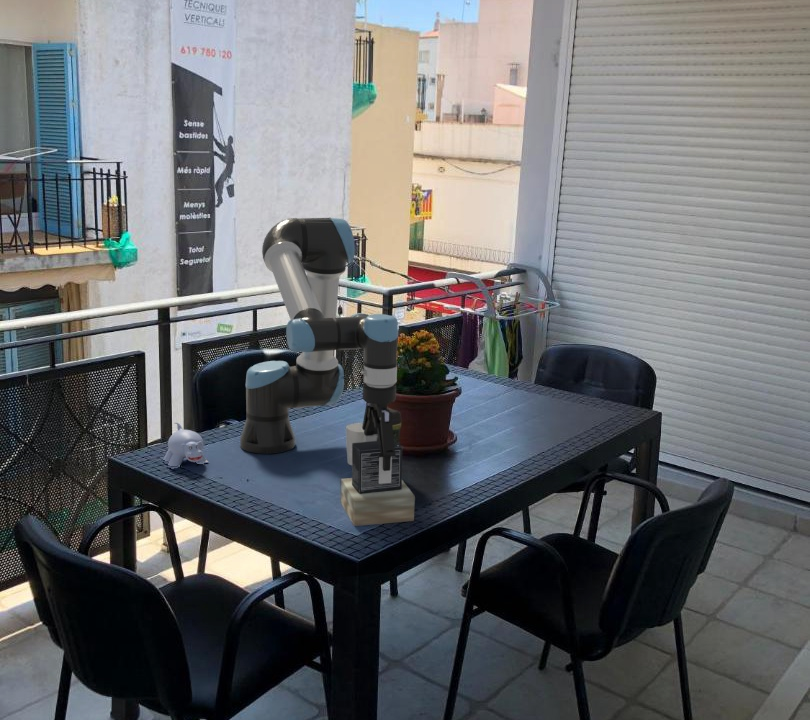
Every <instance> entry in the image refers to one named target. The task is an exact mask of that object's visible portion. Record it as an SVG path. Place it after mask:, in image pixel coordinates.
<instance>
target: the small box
mask: <svg viewBox="0 0 810 720" xmlns="http://www.w3.org/2000/svg"><path fill="white" fill-rule="evenodd" d="M394 447H395V456H392V471H391V483H384V484H379V457H378V454H380V453H381V452H380V445H379V441H370V442H359V443H352V466H351V469H352V470H351V478H352V485H353V487H354V488H355V489H356V491H357V492H358V493H359V494H362V493H371V492H380V491H390V490H399V489H402V480H403V448H404V447H403V446H402V445H401V444H400V442H399V443H398V442H397V441H395V440H394ZM387 451H389V450H387Z"/></svg>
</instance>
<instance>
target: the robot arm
mask: <svg viewBox="0 0 810 720" xmlns="http://www.w3.org/2000/svg"><path fill="white" fill-rule="evenodd" d="M261 246H262V248H261V249H262V250H261V253H262V254H261V255H262V259H263V262H264V264H265V266H266V268H267V270H268V271H270V272H272V274H273V276H274V280H275V282H276V285H277V287H278V290H279V293H280V296H281V299H282V301H283V303H284V306H285V308H286V311H287V314H288V316H289V319H290V320H289V321H288V322H287V325H286V328H285V329H286V331H285V333H286V336H285V337H286V340H287V342H286V344H287V346H288V348H289V350H290V351H292V352H295V353H301V354H300V355H298V356H297V357H296V361H295V362H296V363H295V364H296V365H292V366H290V365H289V363H288V362H287V361H284V360H270V361H269V360H267V361H263V362H259V363H256V364H254V365H253V366H252V365H251V366H250V367H249V368H248V369H247V371H246V376H245V377H246V378H245V386H244V387H245V400H246V402H245V403H246V404H245V405H246V409H245V410H246V416H245V417H246V420H245V423H244V426H243V429H242V432H241V435H240V439H239V440H240V448H241V449H242V450H244V451H246V452H249V453H254V454H261V455H263V454H264V455H265V454H267V455H269V454H270V455H271V454H279V453H284V452H287V451H290V450H292V449H293V448H295V446H296V436H295V434H294V431H293V427H292V424H291V421H290V418H289V416H290V415H289V410H290V409H298V408H311V407H325V406H330V405H331V406H332V405H334V404H336V403H338V401H340V399H341V397H342V395H343V392H344V385H345V379H344V377H345V375H344V374H345V373H344V369H343V366H342V365H341V364H340V363H339V360H338V358H336V357H335V356H334V352H335V351H348V350H363V369H361V371H360V373H361V374H362V375H363V377H362V378H363V379H362V380H363V383H364V384H363V385H362V400H363V401H364V402H366V403H365V408H364V416H363V421H362V423H363V426H362V429H363V430H364V434H365V435H366V436H365V442H370V441H377V436H376V435H373V434H378V439H379V445H380V452H381V453H380V454H378V457H379V484H384V483H391V471H392V456H395V447H394V436H393V425H392V412H389V409H388V408H389V407H388V405H389V404H391V403H394V402H395V401H396V399H397V398H396V397H397V385H396V383H397V381H398V379H397V378H398V377H397V376H398V375H397V374H398V365H397V364H398V363H397V362H398V346H399V345H398V342H399V341H398V339H399V327H398V326H399V325H398V323H399V321H398V319H397V318H396V316H394V315H389V314H384V313H381V314H379V313H375V314H367V313H361V312H358V313H353V314H352V315H351V316H345V317H344V316H343V317H337V313H338V311H337V310H338V297H339V282H340V276H341V275H342V274H344V273H345V271H346V270H347V269H346V266H347V264H350V263H352V262H353V261H354V258H355V254H356V252H355V251H356V247H355V246H356V245H355V238H354V235H353V231H352V228H351V226H350V224H349V223H348V221H347V220H346V219H344V218H337V217H335V218H333V217H330V216H329V217H305V218H303V217H302V218H297V217H290V218H287V219H282V220H281V221H279V222H277V223H276V224H275V225H273V226H272V227H271V228H270V230H269V231H268V232H267V233H266V235H265V237H264V239H263V242H262V245H261ZM387 450H389V451H387Z"/></svg>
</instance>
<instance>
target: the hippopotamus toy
mask: <svg viewBox="0 0 810 720" xmlns="http://www.w3.org/2000/svg"><path fill="white" fill-rule="evenodd" d="M173 424H176V425H177V431H175V432H173V433H172V435H170V437H169V438H168V441H167V447H168V450H167V451H166V452H165V455H164V457H163V459H162V461H163V460H165V461H169V463H168V465H170V466H177V465H178V466H179V465H181V466H182V463H183V461H184V459H186V460H188V462H191V463H195V462H197V463H200V462H201V463H204V462H209V461H208V460H207V458H206V456H205V455H204V453H203V449H204V445H205V443H204V440H203V438H202V436H201V435H200V434H199V433H198V432H196V431H194V430H190V429H183V427H182V426H181V424H180V423H178V422H173Z"/></svg>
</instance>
